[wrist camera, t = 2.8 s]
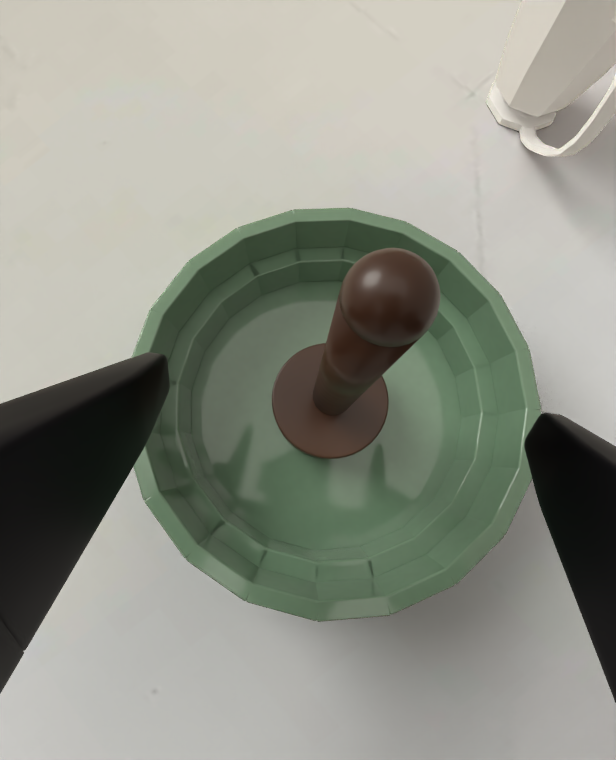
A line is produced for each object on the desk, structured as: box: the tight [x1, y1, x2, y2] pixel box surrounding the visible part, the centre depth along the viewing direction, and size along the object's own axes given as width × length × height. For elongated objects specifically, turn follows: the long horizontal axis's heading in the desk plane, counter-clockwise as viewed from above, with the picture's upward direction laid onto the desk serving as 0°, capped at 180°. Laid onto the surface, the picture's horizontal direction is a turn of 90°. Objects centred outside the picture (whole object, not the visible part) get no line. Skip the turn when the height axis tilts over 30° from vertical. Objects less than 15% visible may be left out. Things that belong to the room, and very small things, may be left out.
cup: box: [486, 0, 616, 157], centre depth 18 cm, size 7×10×8 cm
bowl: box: [132, 208, 541, 622], centre depth 16 cm, size 15×15×4 cm
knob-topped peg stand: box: [272, 248, 440, 459], centre depth 11 cm, size 5×5×12 cm
